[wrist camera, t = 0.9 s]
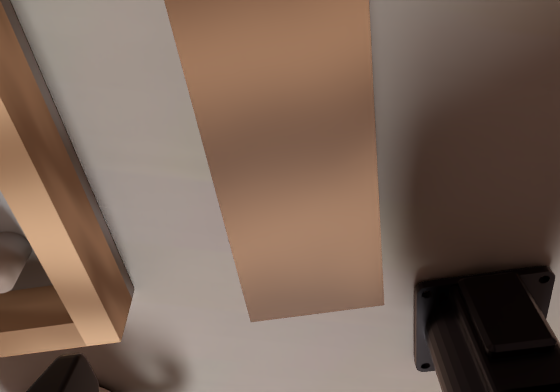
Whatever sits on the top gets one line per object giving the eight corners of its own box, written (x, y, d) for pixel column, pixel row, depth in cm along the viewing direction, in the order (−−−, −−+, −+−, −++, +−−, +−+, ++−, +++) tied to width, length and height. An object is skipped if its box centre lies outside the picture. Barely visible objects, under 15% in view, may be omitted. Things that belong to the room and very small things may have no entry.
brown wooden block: (362, 221, 24) (384, 305, 20) (252, 236, 24) (250, 322, 20) (334, -148, 16) (361, -138, 11) (168, -119, 16) (137, -98, 12)
